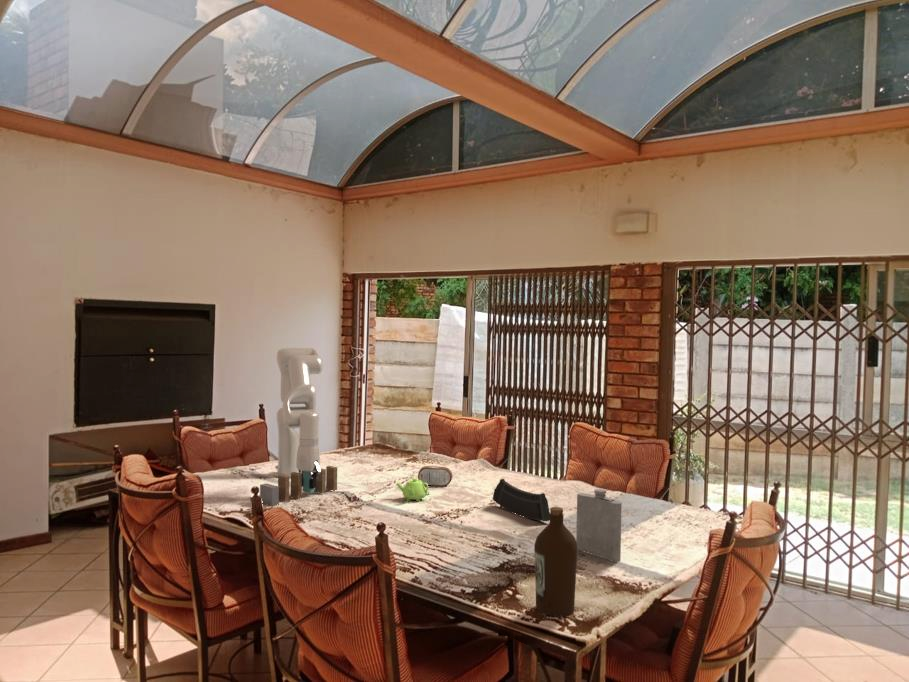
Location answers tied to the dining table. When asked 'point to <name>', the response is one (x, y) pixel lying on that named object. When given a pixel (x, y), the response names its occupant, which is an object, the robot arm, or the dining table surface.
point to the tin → (435, 475)
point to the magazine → (521, 501)
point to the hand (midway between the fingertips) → (308, 486)
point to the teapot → (414, 489)
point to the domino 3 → (307, 482)
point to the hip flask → (599, 525)
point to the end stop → (269, 494)
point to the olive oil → (555, 567)
